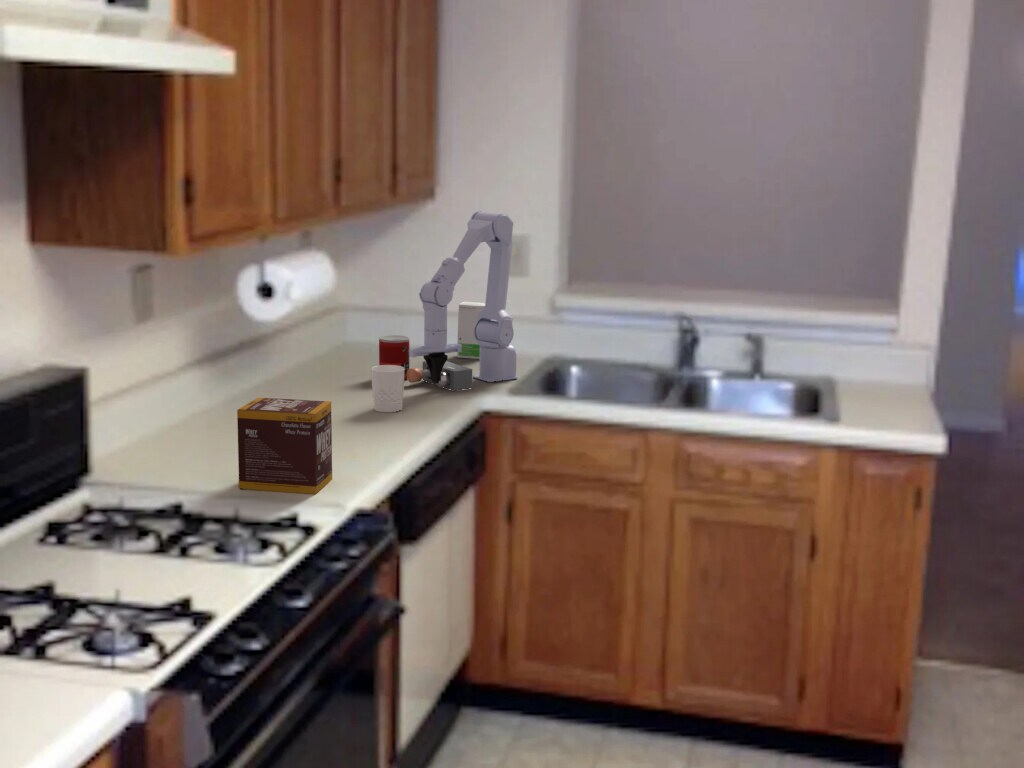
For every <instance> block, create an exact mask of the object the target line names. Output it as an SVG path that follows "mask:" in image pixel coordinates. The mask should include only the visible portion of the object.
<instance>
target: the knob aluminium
mask: <svg viewBox="0 0 1024 768" xmlns="http://www.w3.org/2000/svg"><path fill="white" fill-rule="evenodd" d="M450 381H451V378H450V374H449V373H448V372H441V374H440V378H439V383H436V385H437V387H438V388H442V386H448V385H449V384H450ZM436 385H435V386H436Z"/></svg>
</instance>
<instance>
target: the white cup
mask: <svg viewBox="0 0 1024 768" xmlns="http://www.w3.org/2000/svg"><path fill="white" fill-rule="evenodd" d="M404 372H405V368H404V367H402V366H396V365H380V366H379V365H375V366H372V367H370V373H371V391H372V399H373V410H374V411H376V412H379V413H396V411H398V412H400V411H399V410H401V411H402V410H403V406H404V405H403V403H404V401H403V400H404V391H405V381H404Z"/></svg>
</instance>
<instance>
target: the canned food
mask: <svg viewBox="0 0 1024 768" xmlns="http://www.w3.org/2000/svg"><path fill="white" fill-rule="evenodd" d="M409 349H410V337H409V336H406V335H392V334H389V335H382V336H380V337H379V339H378V350H379V351H378V360H379V361H378V362H379V363H378V366H380V365H396V366H402V367H404V368H405V372H404V380H405V381H408V380H407V370H408V369H410V356H409Z"/></svg>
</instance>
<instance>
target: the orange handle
mask: <svg viewBox="0 0 1024 768" xmlns="http://www.w3.org/2000/svg"><path fill="white" fill-rule="evenodd" d="M430 377H431V374H430V370H429V369H426V370H423V369H420V368H419V367H413V368H409V369H408V370H407V380H406V381H408V382H409V383H411V384H412V383H419V382H422V381H423V378H430Z"/></svg>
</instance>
